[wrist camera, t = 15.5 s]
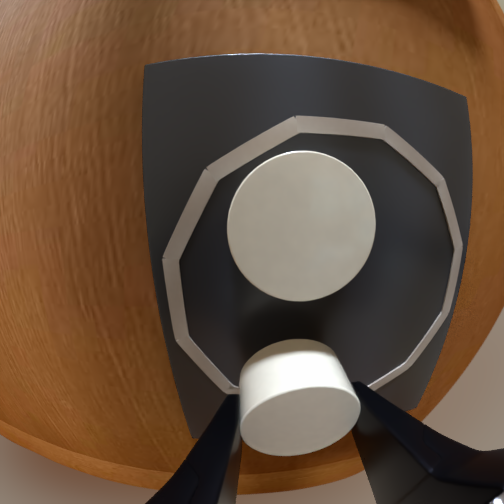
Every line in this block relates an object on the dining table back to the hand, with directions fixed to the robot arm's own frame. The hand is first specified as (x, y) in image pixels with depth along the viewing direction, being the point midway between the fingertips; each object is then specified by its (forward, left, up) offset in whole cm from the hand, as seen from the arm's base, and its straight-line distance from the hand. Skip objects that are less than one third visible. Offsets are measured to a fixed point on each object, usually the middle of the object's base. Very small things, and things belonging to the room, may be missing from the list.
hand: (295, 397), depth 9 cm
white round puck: (0, -6, -2) cm, 6 cm away
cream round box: (0, 0, -1) cm, 1 cm away
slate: (-2, -3, -3) cm, 5 cm away
